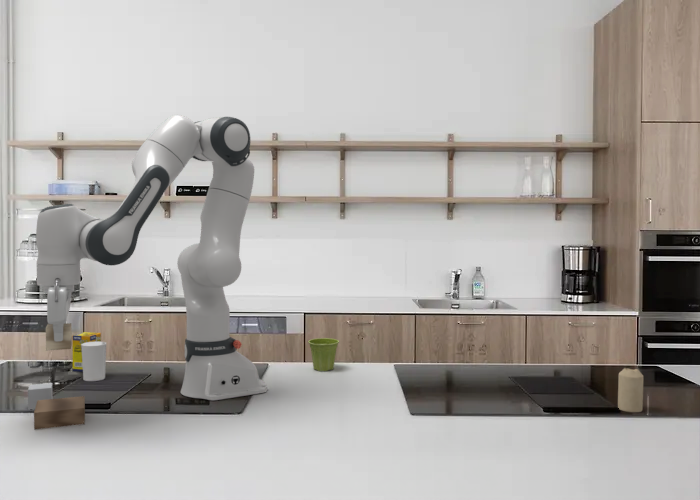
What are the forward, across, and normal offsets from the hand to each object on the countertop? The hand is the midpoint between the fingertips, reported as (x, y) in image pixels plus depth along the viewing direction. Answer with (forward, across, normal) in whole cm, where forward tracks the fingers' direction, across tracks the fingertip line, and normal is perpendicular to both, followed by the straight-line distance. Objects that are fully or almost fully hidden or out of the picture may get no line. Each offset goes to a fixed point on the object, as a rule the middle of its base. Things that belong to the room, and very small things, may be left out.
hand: (59, 338), depth 140 cm
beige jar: (+19, -40, -128) cm, 135 cm away
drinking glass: (+19, +37, -7) cm, 42 cm away
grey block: (+19, +13, +5) cm, 23 cm away
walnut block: (+19, 0, 0) cm, 19 cm away
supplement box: (+19, +49, -5) cm, 53 cm away
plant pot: (+19, +25, -72) cm, 79 cm away
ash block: (+2, 0, 0) cm, 2 cm away
